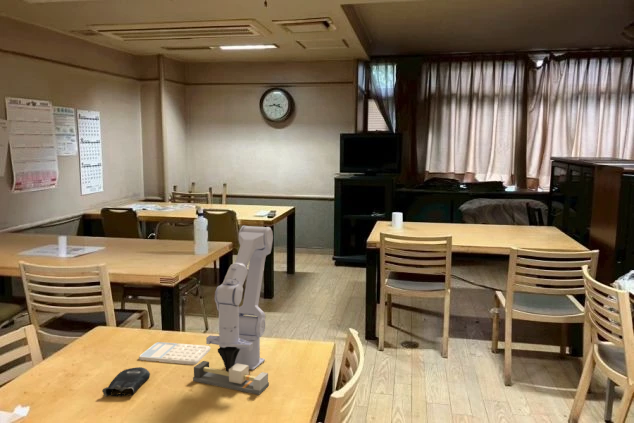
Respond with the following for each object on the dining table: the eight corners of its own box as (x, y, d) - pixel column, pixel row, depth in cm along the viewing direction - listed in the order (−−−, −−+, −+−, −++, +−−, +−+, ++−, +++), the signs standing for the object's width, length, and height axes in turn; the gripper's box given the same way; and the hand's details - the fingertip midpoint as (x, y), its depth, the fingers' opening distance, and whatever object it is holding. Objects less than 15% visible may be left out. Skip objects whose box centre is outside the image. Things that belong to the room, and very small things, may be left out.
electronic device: (137, 402, 142) (154, 372, 156) (133, 385, 140) (150, 356, 155) (105, 406, 142) (124, 375, 156) (100, 389, 140) (120, 359, 155)
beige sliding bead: (229, 381, 147) (228, 369, 147) (236, 375, 151) (236, 363, 151) (241, 384, 146) (240, 371, 145) (248, 377, 150) (248, 365, 149)
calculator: (195, 366, 162) (195, 360, 162) (137, 361, 166) (137, 355, 165) (211, 350, 175) (211, 344, 175) (157, 345, 179) (157, 340, 178)
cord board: (193, 380, 151) (192, 367, 151) (204, 372, 157) (204, 360, 156) (258, 394, 143) (258, 381, 142) (268, 385, 148) (268, 372, 148)
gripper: (199, 326, 147) (200, 371, 148) (243, 333, 141) (244, 380, 143) (213, 318, 153) (214, 362, 155) (256, 325, 148) (256, 370, 149)
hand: (229, 370), depth 149 cm, fingers closed
